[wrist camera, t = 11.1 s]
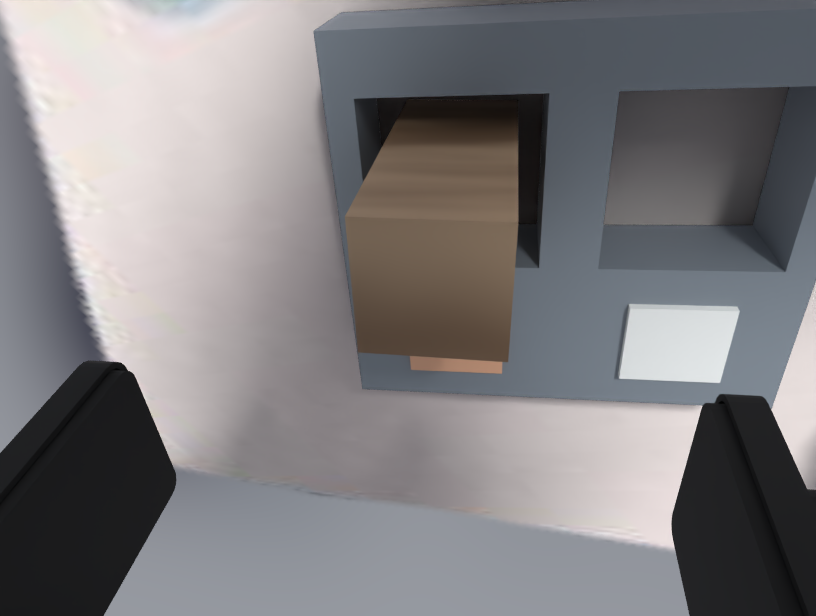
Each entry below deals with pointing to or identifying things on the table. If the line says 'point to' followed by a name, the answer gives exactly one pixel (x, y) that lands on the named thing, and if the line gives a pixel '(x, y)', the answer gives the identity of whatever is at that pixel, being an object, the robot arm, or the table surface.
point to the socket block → (603, 191)
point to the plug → (438, 233)
